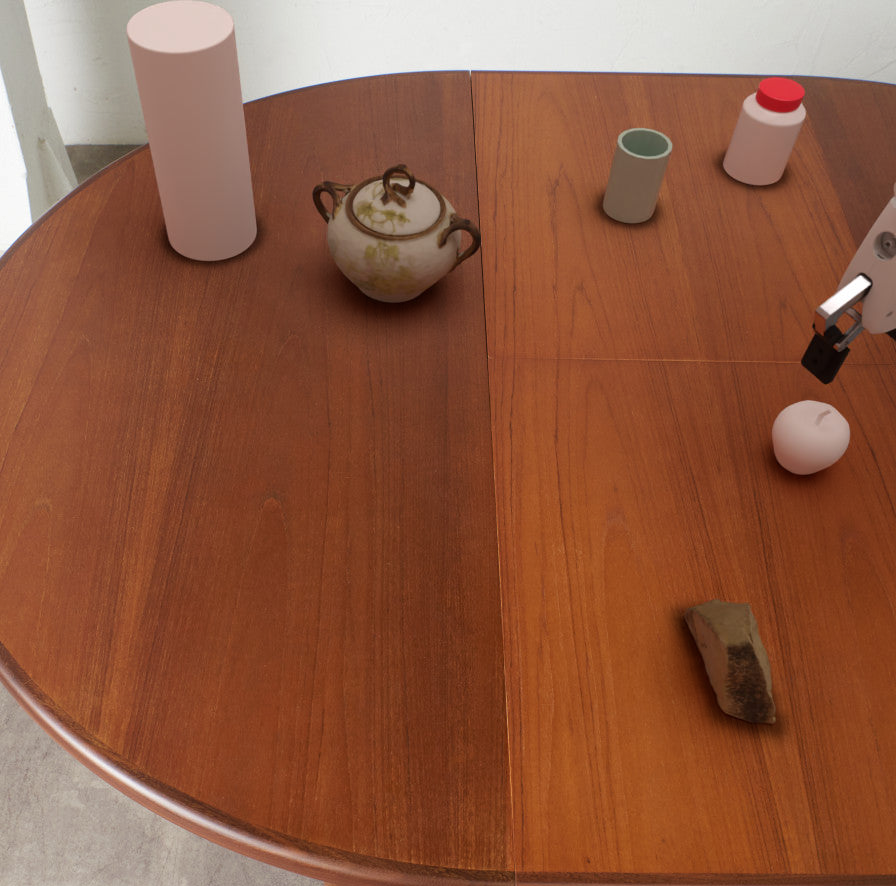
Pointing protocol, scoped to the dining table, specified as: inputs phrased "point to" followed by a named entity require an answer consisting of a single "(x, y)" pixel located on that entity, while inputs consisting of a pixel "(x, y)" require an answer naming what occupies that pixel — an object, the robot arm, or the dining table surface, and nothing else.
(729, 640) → the rock
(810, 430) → the apple
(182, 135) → the tall pillar cylinder
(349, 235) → the sugar bowl
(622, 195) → the cup
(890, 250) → the robot arm
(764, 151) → the pill bottle
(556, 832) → the dining table surface
